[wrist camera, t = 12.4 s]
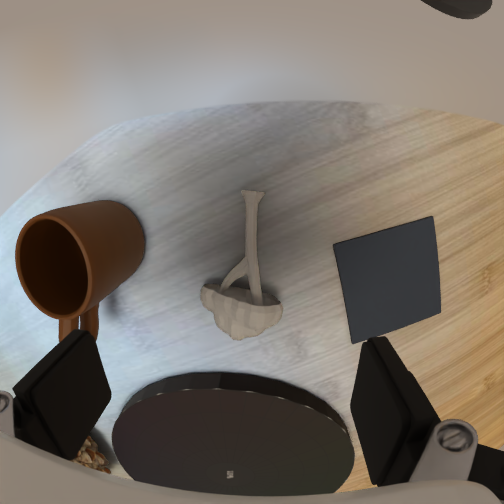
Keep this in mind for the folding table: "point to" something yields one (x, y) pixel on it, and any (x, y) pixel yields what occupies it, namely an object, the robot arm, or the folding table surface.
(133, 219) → the mug
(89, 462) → the pine cone
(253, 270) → the mushroom
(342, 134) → the folding table surface
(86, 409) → the robot arm
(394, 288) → the coaster
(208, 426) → the disc
